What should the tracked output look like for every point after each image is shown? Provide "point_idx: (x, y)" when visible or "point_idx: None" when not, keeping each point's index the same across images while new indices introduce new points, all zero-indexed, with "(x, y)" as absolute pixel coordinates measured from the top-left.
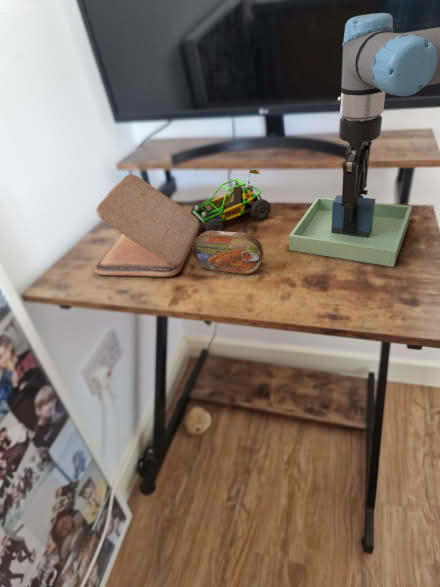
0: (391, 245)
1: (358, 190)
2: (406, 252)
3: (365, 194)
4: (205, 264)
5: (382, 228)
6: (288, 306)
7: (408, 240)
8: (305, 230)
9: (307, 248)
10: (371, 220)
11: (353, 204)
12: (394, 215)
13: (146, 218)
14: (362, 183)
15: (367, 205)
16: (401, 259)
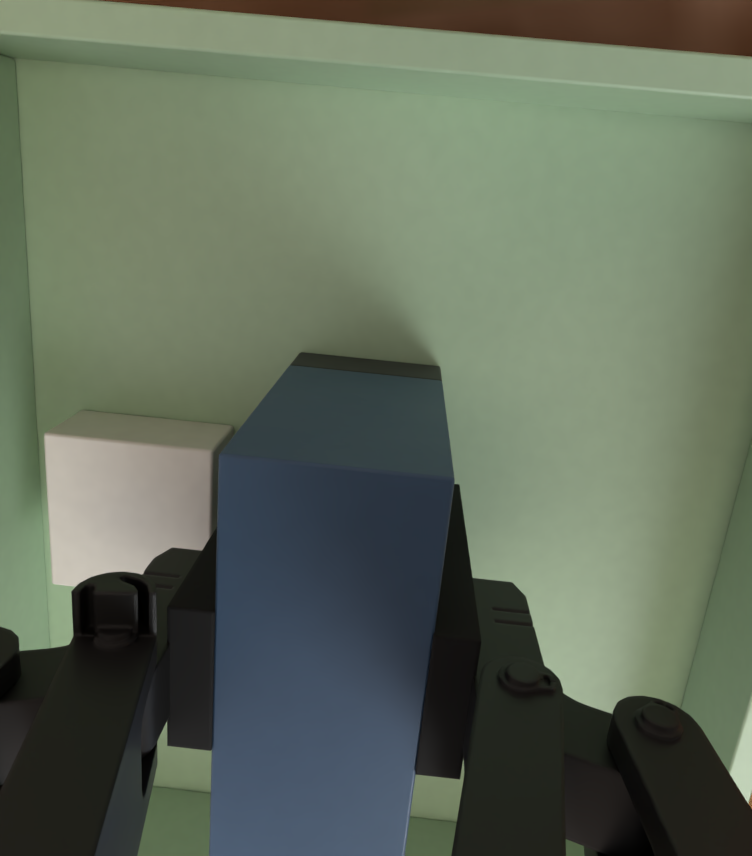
0: (540, 154)
1: (489, 821)
2: (595, 9)
3: (155, 594)
4: None
5: (248, 265)
6: None
7: (375, 8)
8: None
9: None
10: (366, 394)
11: (714, 757)
12: (8, 178)
13: None
14: (122, 764)
15: (443, 531)
16: (721, 45)
